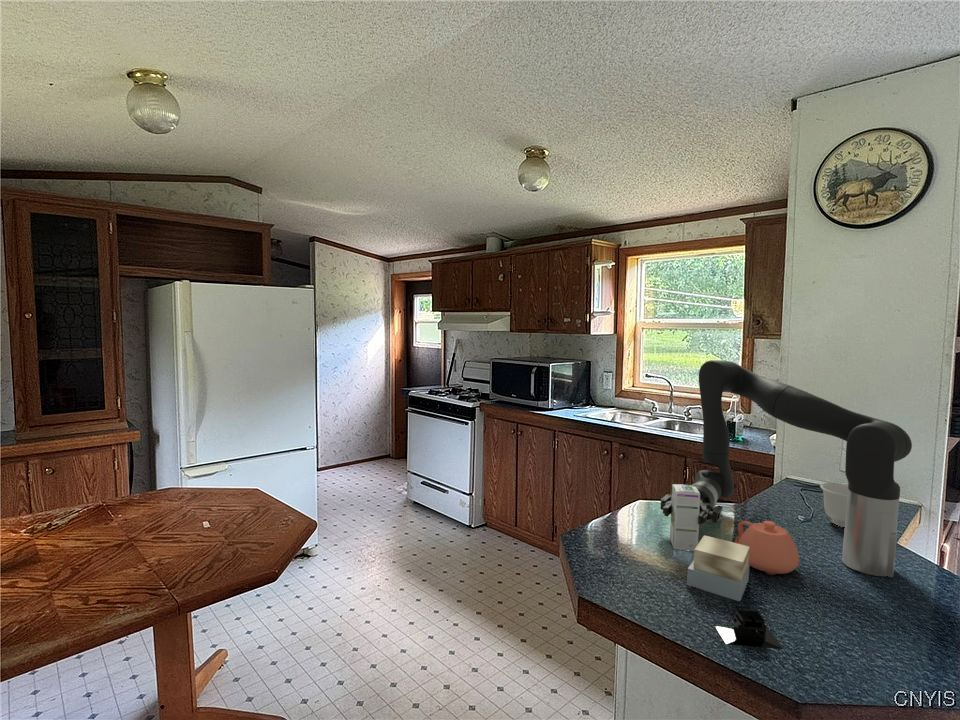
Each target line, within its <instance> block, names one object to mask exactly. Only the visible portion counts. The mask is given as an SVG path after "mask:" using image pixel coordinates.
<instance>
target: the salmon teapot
mask: <svg viewBox="0 0 960 720" xmlns="http://www.w3.org/2000/svg"><path fill="white" fill-rule="evenodd" d="M744 525H746V526H748V528H746V529H745V531H744ZM737 531H738V532H737V533H738V536H736V537H735V538H734V543H737V544H741V545H745V546H749V547H750V549H749V562H748V565H750V567H751V568H754V569H756V570H759V571H762V572H764V573H765V574H767V575H771V576H774V575H776V574H778V575H782V574H789V573H791V572H793V571H795V569H797V568H798V567H799V565H800V555H799V551H798V548H797V546H796V543H795V541H794V540H793V538H792V536H791V535H790V533H789V532H788V531H787V530H786V529H785V528H784V527H781V526H779V525H777V524H776V522H774V521H772V520H771V521H770V520H763V522H754V523H753V522H751V521H749V520H743V521H740V522H739V523H738V525H737Z"/></svg>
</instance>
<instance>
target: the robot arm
mask: <svg viewBox="0 0 960 720" xmlns="http://www.w3.org/2000/svg"><path fill="white" fill-rule="evenodd" d="M698 386H699V395H700V402H701V405H700V406H701V411H702V422H703V431H702V432H703V436H702V438H703V439H702V459H703V461H704V462H705V463H708V464H711V465H714V466H716V467H717V468H718V470H719V471H720V472H719V471H715V470H714V471H713V470H707V469H702V470H701V469H700V470H698V471H697V472H696V474H695V478H694V483H693V484H691V485H692V486H696V488H697V490H698V491H699V493H700V511H699V516H698V524H699V526H700V525H701V526H702V525H703V524H706V523H707V522H709V521H710V520H711V522H712V523H716V524H717V523H718V522H719V521H720V520H721V518H722V517H723V506H722V505H717V506H716V504H717V502H718V501H719V500H720V498H724V499H727V498H730V497H731V496H733V494H734V492H735V481H734V477H733V475H732V470H731V465H730V439H731V438H730V431H729V427H728V424H727V421H726V418H725V415H724V412H723V404H722V399H723V398H722V397H723V393H729V394H730V393H731V394H733V395H737V396H740V397H742V398H745V399H747V400H750V401H752V402H753V403H755V404H756V405H757V406H758V407H759V408H760V409H761V410H763V411H764V412H765V413H766V414H768V415H770V416H772V418H775V419H778V420H779V421H781V422H784V423H786V424H788V425H790V426H794V427H796V428H799V429H802V430H805V431H811V432H815V433H819V434H824V435H827V436H831V437H832V436H833V437H835V438H837V439H840V440H843V441H845V442H846V447H845V477H846V479H847V482H848V483H847V484H848V496H847V507H846V519H845V528H844V531H843V532H844V533H843V543H842V555H841V562H842V563H843V564H844V565H845V566H846V567H848V568H850V569H852V570H853V571H857V572H858V573H859V572H860V573H862V574H866V575H871V576H875V577H876V576H877V577H887V576H888V578H892V577H893V578H894V574H895V573H894V572H895V562H896V561H895V560H896V553H897V552H896V551H897V540H898V534H897V529H898V528H897V527H898V517H899V508H900V507H899V506H900V498H901V497H900V495H901V486H900V484H899V483H897V482H896V481H895V478H894V475H895V463H896V462H898V461H901V460H902V459H904V458H906V457H908V456H909V454H910V453H911V452H912V447H913V443H912V440H911V438H910V436H909V434H908V433H907V431H905V430H904V429H903V428H902V427H900V426H899V425H897V424H895V423H892V422H890V421H888V420H882V419H879V418H875V417H872V416H869V415H866V414H865V415H864V414H862V413H859V412H856V411H852V410H849V409H847V408H846V407H845V408H844V407H842V406H841V405H838V404H836V403H833V402H832V401H829V400H827V399H824V398H821V397H819V396H817V395H814V394H812V393H809V392H808V391H806V390H803V389H801V388H798V387H795V386H794V385H793V386H792V385H789V384H786V383H784V382H781V381H777V380H774V379H771V378H766V377H764V376H761V375H759V374H757V373H755V372H753V371H751V370H749V369H747V368H745V367H743V366H742V365H739V364H738V363H735V362H733V361H729V360H721V359H712V360H707V361H704V363H703V364H701V367H700V368H699V371H698ZM671 502H672V494H669V493H668V494H665V495H664V496H663V497H661V499H660V507H659V509H660V510H661V511H662V514H664V516H665V517H669V516H671Z"/></svg>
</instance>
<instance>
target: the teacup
mask: <svg viewBox="0 0 960 720" xmlns="http://www.w3.org/2000/svg"><path fill="white" fill-rule="evenodd" d="M819 487H820V488H821V489H822V495H823V507H824V511H825V513H826V516H827V517H829V518H830V519H831V520H830V523H831V522H832V523H834V524H836V525H838V526H837V527H839V526H841V527H840V528H842V527H845V519H846V507H847V496H848V483H846V482H842V483H839V482H825V483H822V484H820V485H819ZM832 523H831V524H832ZM834 524H833V525H834ZM836 525H835V526H836Z"/></svg>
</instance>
